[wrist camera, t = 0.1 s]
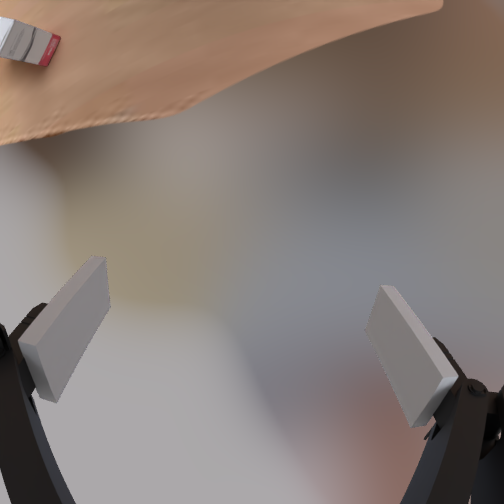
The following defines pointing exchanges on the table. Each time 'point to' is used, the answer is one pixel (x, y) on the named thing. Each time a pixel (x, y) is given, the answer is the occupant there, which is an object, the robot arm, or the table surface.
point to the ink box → (26, 42)
